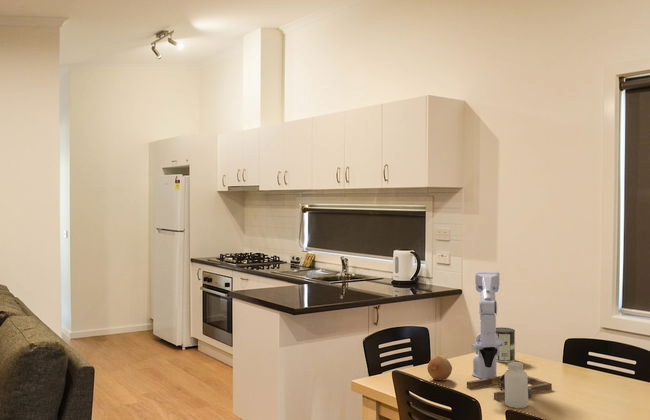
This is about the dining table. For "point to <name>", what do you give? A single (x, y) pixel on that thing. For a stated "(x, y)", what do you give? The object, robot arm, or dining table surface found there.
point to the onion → (439, 368)
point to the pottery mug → (502, 384)
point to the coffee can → (506, 345)
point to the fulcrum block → (529, 392)
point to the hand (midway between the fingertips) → (488, 366)
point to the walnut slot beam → (537, 384)
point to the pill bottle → (516, 386)
